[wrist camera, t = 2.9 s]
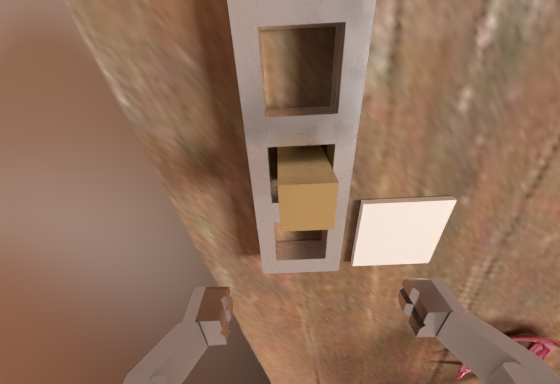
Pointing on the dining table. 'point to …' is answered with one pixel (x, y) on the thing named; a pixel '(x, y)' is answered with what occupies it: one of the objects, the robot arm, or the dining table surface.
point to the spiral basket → (539, 348)
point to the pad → (399, 230)
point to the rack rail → (301, 116)
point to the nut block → (306, 189)
